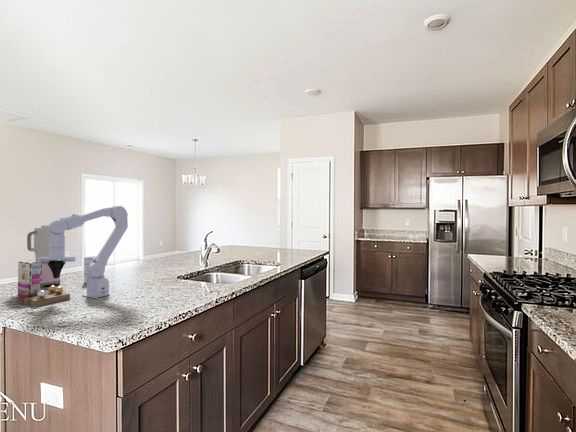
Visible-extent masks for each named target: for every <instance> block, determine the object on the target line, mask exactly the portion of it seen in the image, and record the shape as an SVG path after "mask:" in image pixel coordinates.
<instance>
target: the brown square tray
mask: <svg viewBox="0 0 576 432" xmlns="http://www.w3.org/2000/svg"><path fill="white" fill-rule="evenodd" d="M45 291H46V296H45V297H43V298H39V297H38V296H37V293H34V294H28V295H23V296H18V295H17V296H16V303H18V304H21V305H26V306H31V307H34V308H35V307H41V306H44V305H50V304H55V303H58V302H59V303H60V302H64V301H68V300H70V299H71V293H67V292H64V291H63V292H62V293H61V294H56V293H55V292H53V293H51V292H49V291H48V290H45Z"/></svg>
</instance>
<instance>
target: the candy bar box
mask: <svg viewBox="0 0 576 432" xmlns="http://www.w3.org/2000/svg"><path fill="white" fill-rule="evenodd" d="M17 264H18V266H17V267H18V269H17V297H18V296H23V295H28V294H34V293H38V292H39V291H41V290H42V287H41V274H42V262H38V261H36V260H29V259H28V260H19V261H17Z"/></svg>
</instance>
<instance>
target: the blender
mask: <svg viewBox="0 0 576 432" xmlns="http://www.w3.org/2000/svg"><path fill="white" fill-rule="evenodd" d="M49 225H50V224H49ZM49 225H48V224H46V225H45V224H44V225H43V224H42V225H41V226H40V227H34V230H33V231H30V232H28V234H27V237H26V247H27V250H28V251H29V252H34V256H35V261H38V257H49V237H50V232H51V231H50V230H49ZM32 236H33V247H32ZM48 263H49V262H42V274H41V288H44V286H47V285H48V286H49V285H50V286H51V285H55V284H58V285H61V275H60V276H59V278H54V277H53V274H52V271H51V269H50V267H49V266H48Z"/></svg>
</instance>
